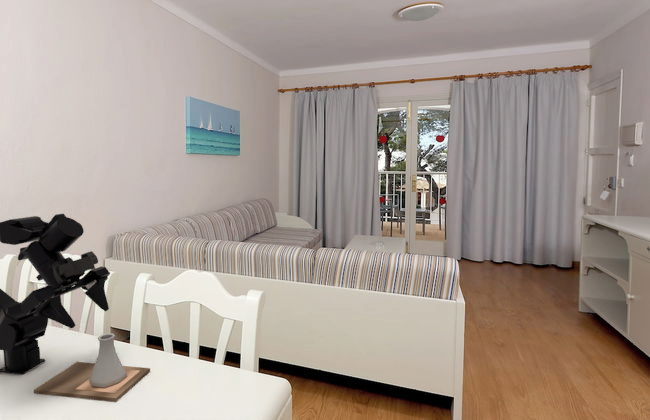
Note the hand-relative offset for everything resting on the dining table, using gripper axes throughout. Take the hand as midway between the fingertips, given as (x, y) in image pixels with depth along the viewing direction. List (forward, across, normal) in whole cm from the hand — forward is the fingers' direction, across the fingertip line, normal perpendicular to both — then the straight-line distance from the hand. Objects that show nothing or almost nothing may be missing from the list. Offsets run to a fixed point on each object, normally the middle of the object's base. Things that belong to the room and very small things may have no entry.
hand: (91, 318), depth 87 cm
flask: (+13, -2, +4) cm, 14 cm away
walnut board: (+12, -2, +7) cm, 14 cm away
